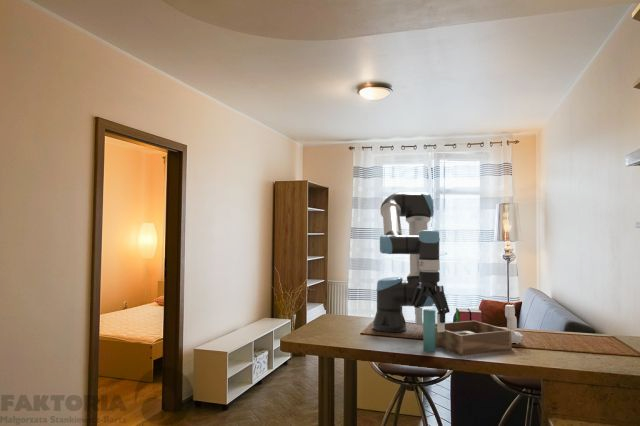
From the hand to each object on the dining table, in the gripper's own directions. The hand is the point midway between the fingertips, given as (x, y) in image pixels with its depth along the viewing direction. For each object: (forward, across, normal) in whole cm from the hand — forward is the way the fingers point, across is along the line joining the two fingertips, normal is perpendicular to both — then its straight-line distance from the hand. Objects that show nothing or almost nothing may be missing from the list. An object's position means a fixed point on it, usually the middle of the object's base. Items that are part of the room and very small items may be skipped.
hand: (429, 328), depth 160 cm
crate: (+8, -1, +19) cm, 21 cm away
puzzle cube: (+8, -19, +35) cm, 41 cm away
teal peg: (+8, 0, 0) cm, 8 cm away
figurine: (+8, +1, +39) cm, 40 cm away
